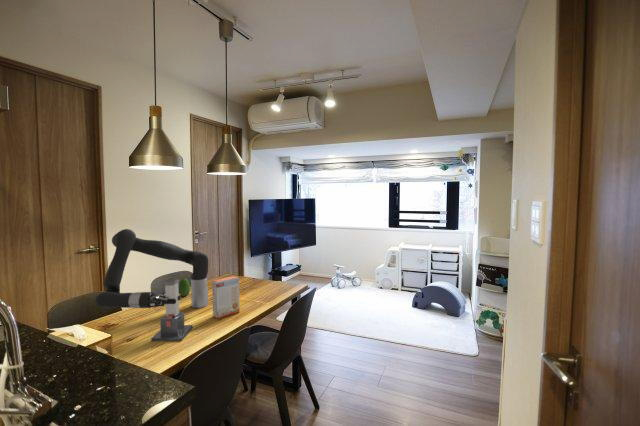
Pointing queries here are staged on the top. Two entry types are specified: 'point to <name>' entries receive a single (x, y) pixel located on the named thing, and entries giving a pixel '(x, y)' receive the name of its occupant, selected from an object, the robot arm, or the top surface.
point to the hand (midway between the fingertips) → (177, 299)
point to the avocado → (184, 287)
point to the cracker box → (225, 296)
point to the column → (172, 296)
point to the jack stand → (172, 328)
